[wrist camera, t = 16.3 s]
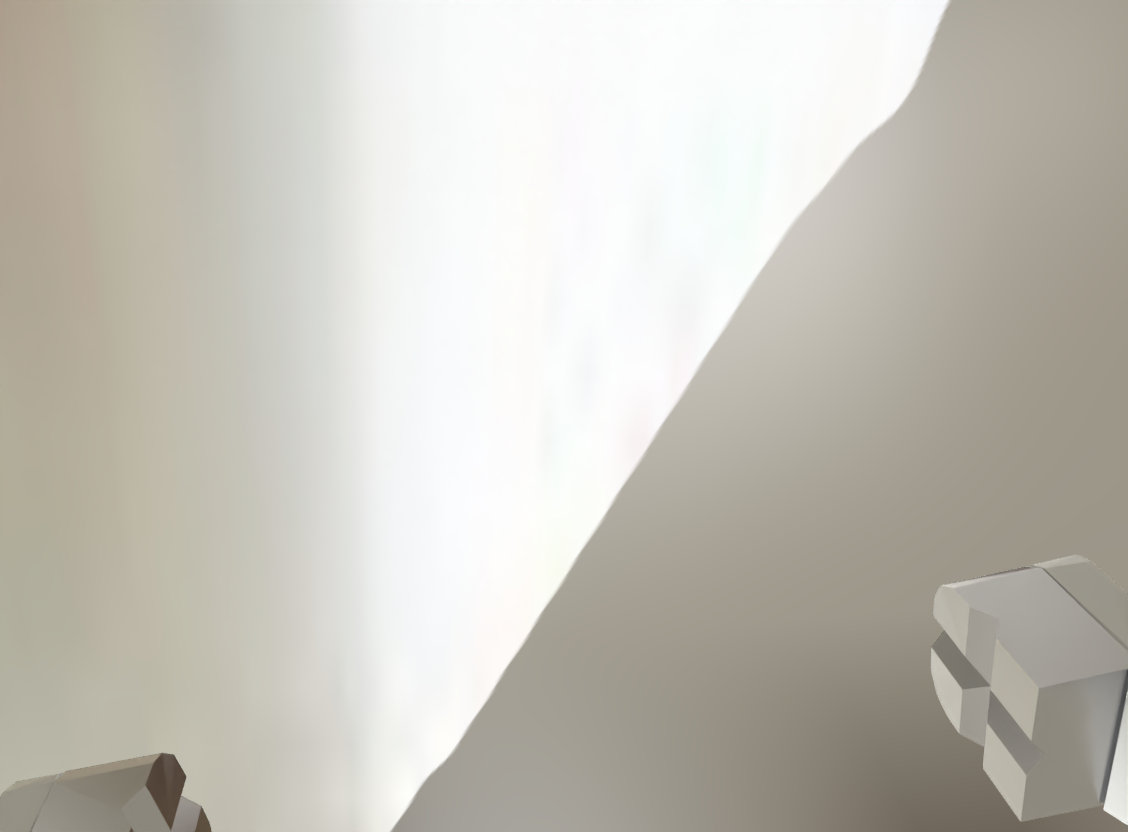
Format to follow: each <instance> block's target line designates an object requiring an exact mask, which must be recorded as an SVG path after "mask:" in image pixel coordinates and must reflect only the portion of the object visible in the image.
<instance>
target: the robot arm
mask: <svg viewBox="0 0 1128 832" xmlns="http://www.w3.org/2000/svg"><path fill="white" fill-rule="evenodd" d="M933 615H934V617H935V618H936V620H937V621H938V622H939V623H940V625H941V626H942V627H943V629H944V631H943V632H942V634H941V635H940V637H939V638H938V639H937V640H936V642H935V643H934V644H933V646H932V647H931V673H932V677H933V681H934V684H935V688H936V692H937V696H938V698H939V700H940V702H941V704H942V707H943V709H944V711H945V713H946V715H947V716H948V718H949V719H950V721H951V722H952V724H953V725H954V727H955V728H956V730H957V731H958V733H959V734H961V735H962V736H964V737H966V738H968V739H970V740H972V741H974V742H976V743H978V744H979V745H982V746H983V747H985V749H984V760H983V769H984V770H985V772H986V773H987V774H988V776H989V777H990V779H991V780H992V782H993V783H994V785H995V786H996V787H997V789H998V790H999V791H1000V793H1001V794H1002V796H1003V797H1004V799H1005V800H1006V802H1007V803H1008V804H1009V806H1010V807H1011V809H1012V810H1013V812H1014V813H1015V814H1016V816H1017V817H1018V818H1019V820H1020V821H1021V822H1022V821H1027V820H1032V819H1037V818H1042V817H1047V816H1052V815H1057V814H1062V813H1067V812H1072V811H1077V810H1082V809H1087V808H1092V807H1097V806H1102V805H1104V810H1105V811H1106V812H1108V813H1109V814H1111V815H1112V816H1114V817H1116V818H1117V819H1119V820H1120V821H1122V822H1123V823H1125V824H1127V825H1128V593H1127V592H1126V591H1125V590H1123V589H1122V588H1121V587H1120V586H1119V585H1118V584H1117V583H1116V582H1114V581H1113V580H1112V579H1111V578H1110V577H1109V576H1108V575H1106V574H1105V573H1104V572H1103V571H1102V570H1101V569H1099V567H1097V566H1096V565H1095V564H1094V563H1093V562H1092V561H1090V560H1089V559H1087V558H1084V557H1082V556H1079V555H1072V556H1068V557H1063V558H1059V559H1055V560H1050V561H1046V562H1042V563H1037V564H1033V565H1031V566H1029V567H1021V568H1017V569H1012V570H1008V571H1004V572H999V573H995V574H990V575H986V576H981V577H977V578H972V579H968V580H963V581H959V582H954V583H950V584H945V585H941V586H940V587H939V589H938V591H937V593H936V595H935V598H934V613H933ZM185 780H186V775H185V773H184V771H183V770H182V768H181V766H180V764H179V763H178V761H177V759H176V757H175V756H174V755H173V754H167V753H159V754H154V755H149V756H143V757H138V758H133V759H128V760H122V761H117V762H112V763H107V764H101V765H96V766H91V767H85V768H80V769H75V770H70V771H66V772H65V773H61V774H55V775H50V776H44V777H39V778H33V779H28V780H22V781H17V782H15V783H14V784H13V785H12V786H10V787H9V788H8V789H7V790H5V791H4V792H3V793H2V794H1V796H0V832H212V831H211V827H210V823H209V821H208V818H207V816H206V814H205V812H204V810H203V808H202V806H200V805H198V804H196V803H194V802H193V801H191V800H189V799H187V798H185V797H183V796H181V794H182V791H183V787H184V784H185Z"/></svg>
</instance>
